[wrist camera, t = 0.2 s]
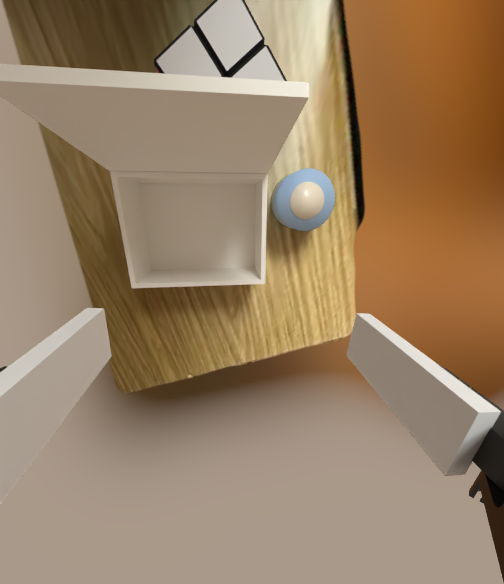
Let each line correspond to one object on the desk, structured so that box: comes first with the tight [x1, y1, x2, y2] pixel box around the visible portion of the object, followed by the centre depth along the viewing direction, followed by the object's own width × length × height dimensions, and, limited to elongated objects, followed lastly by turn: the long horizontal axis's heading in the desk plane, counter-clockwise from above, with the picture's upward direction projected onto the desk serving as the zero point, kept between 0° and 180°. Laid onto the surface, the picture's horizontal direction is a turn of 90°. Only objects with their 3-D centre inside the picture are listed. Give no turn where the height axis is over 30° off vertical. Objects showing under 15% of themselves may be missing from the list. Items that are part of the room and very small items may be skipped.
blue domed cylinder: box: [271, 168, 335, 231], centre depth 34 cm, size 8×8×6 cm
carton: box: [110, 171, 268, 288], centre depth 33 cm, size 14×18×8 cm
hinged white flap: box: [0, 64, 309, 173], centre depth 20 cm, size 14×18×1 cm
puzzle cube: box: [154, 0, 287, 81], centre depth 27 cm, size 10×10×10 cm
